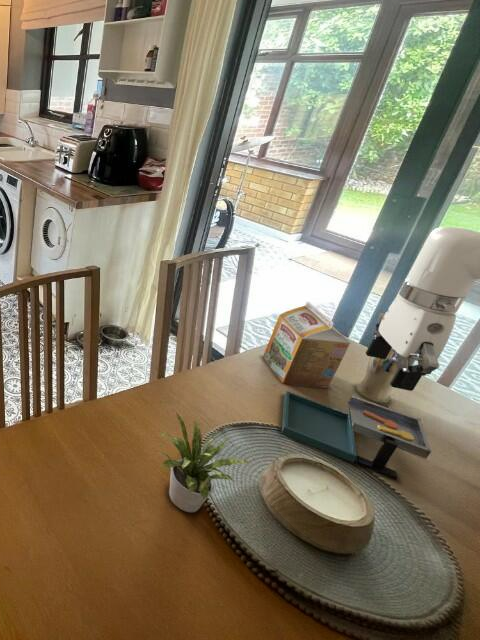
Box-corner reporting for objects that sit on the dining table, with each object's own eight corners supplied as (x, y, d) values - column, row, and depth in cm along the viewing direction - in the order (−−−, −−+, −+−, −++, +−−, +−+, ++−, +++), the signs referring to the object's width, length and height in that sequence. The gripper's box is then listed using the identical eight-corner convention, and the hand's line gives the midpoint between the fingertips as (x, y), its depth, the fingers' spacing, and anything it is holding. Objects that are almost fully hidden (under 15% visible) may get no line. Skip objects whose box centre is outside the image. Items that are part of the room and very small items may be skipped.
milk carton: (327, 388, 104) (358, 326, 96) (282, 383, 106) (309, 321, 98) (303, 361, 114) (330, 302, 106) (262, 357, 115) (285, 299, 107)
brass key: (410, 434, 83) (411, 432, 83) (415, 442, 81) (416, 440, 81) (376, 424, 85) (377, 423, 85) (380, 431, 83) (380, 430, 83)
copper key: (398, 425, 85) (399, 424, 85) (396, 430, 84) (397, 429, 84) (364, 409, 89) (365, 408, 89) (362, 414, 88) (363, 413, 87)
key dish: (416, 426, 86) (420, 419, 85) (426, 459, 78) (431, 451, 78) (348, 402, 92) (351, 395, 91) (351, 430, 84) (355, 423, 83)
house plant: (121, 473, 81) (137, 412, 74) (175, 452, 86) (194, 393, 79) (178, 544, 69) (203, 479, 62) (237, 516, 74) (266, 453, 67)
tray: (348, 420, 95) (351, 414, 94) (353, 462, 84) (357, 456, 83) (284, 396, 101) (286, 390, 100) (281, 433, 91) (284, 427, 90)
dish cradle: (386, 434, 91) (401, 409, 88) (396, 480, 81) (414, 453, 78) (350, 421, 94) (364, 396, 91) (356, 463, 84) (372, 437, 81)
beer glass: (347, 387, 104) (372, 339, 98) (365, 382, 106) (391, 334, 100) (379, 407, 98) (408, 357, 92) (398, 401, 100) (427, 352, 94)
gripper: (493, 326, 64) (439, 407, 72) (428, 279, 79) (388, 350, 86) (431, 316, 67) (385, 396, 74) (379, 272, 81) (344, 342, 89)
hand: (387, 371), depth 80 cm, fingers open, 9 cm apart
